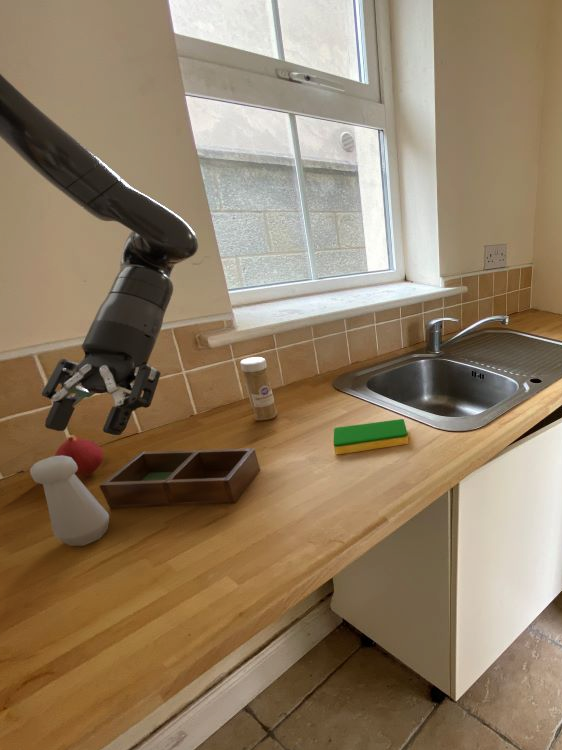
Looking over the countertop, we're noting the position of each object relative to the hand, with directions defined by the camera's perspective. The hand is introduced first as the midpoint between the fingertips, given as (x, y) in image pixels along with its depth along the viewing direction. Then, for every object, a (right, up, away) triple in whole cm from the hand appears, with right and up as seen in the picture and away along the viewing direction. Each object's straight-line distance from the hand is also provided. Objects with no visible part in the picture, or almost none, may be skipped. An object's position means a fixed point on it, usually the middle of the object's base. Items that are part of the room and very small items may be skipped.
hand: (82, 431), depth 63 cm
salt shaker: (-1, -16, +2) cm, 16 cm away
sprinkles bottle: (+4, +1, +36) cm, 36 cm away
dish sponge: (+31, -4, +29) cm, 42 cm away
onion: (-14, -9, +15) cm, 22 cm away
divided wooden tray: (+6, -11, +13) cm, 17 cm away
